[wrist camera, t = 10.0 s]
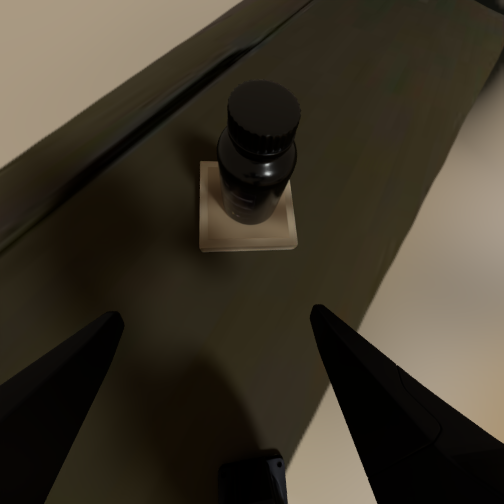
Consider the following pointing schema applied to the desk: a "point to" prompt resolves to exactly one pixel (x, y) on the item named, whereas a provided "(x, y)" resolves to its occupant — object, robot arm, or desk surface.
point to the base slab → (236, 234)
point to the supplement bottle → (257, 149)
